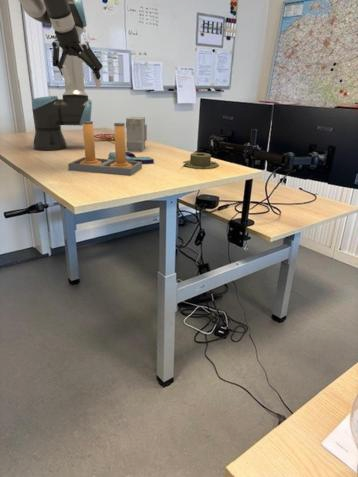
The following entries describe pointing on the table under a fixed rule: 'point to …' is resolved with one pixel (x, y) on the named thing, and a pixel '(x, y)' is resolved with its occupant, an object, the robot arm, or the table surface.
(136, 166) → the tray
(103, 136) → the mechanical gear assembly
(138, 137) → the circuit breaker
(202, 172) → the table surface
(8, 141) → the table surface
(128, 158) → the pistol
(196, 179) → the table surface
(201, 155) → the flange
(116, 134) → the orange capped peg
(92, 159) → the orange joystick peg
